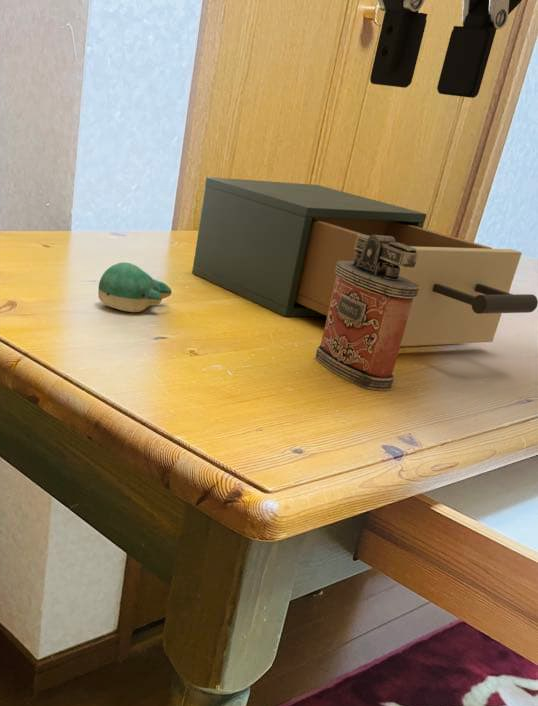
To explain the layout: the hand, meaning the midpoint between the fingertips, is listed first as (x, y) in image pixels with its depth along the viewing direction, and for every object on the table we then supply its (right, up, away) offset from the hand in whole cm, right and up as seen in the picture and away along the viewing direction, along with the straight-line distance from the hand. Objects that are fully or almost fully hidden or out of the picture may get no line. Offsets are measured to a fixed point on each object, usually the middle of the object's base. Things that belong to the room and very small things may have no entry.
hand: (424, 87), depth 55 cm
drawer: (+5, -11, +20) cm, 23 cm away
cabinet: (-3, -4, +32) cm, 32 cm away
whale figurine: (-19, -9, +19) cm, 29 cm away
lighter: (-2, -17, +10) cm, 20 cm away
